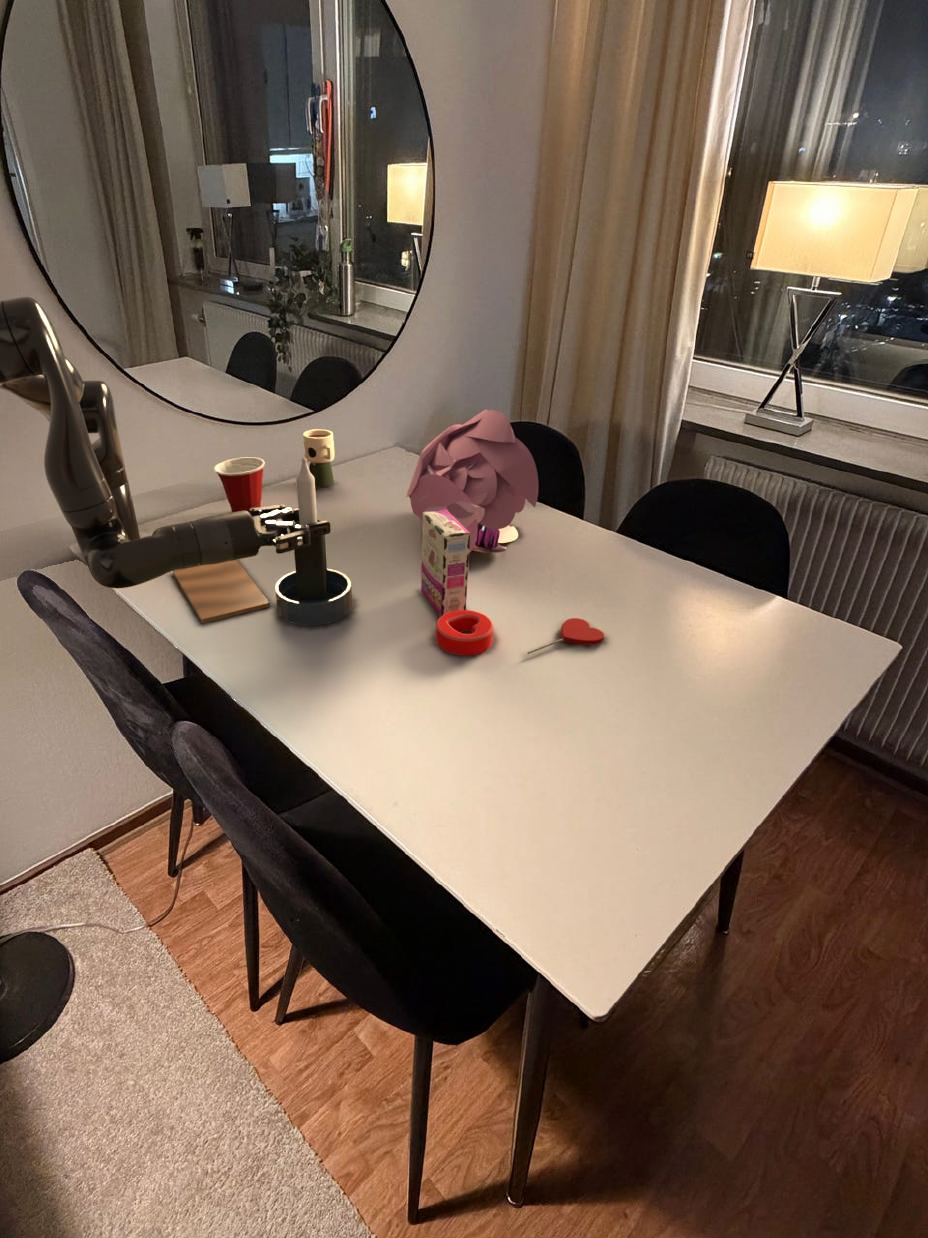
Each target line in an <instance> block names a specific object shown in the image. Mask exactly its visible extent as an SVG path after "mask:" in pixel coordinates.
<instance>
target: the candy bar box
mask: <svg viewBox="0 0 928 1238" xmlns="http://www.w3.org/2000/svg"><path fill="white" fill-rule="evenodd" d="M421 528H422V529H421V530H422V531H421V532H422V533H421V574H420V575H421V576H420V577H421V578H420V581H421V582H420V584H421V585H420V592H421V594H422V595H423V597H425V599H426V600H427V602H428V603H429V604H430V605H431V607H432V608H433V609H434V610H435V611H434V612H436V613H437V615H438V616H439V618H440V617H441V616H443V615H444V614H446V613H448V612H452V611H457V610H467V597H468V596H467V595H468V579H469V578H468V577H469V563H470V553H469V548H470V532H469V531H467V530H466V529H465V528H464V527H463V526H462V525H461V524H460V523H459V522H458V521H457V520H456V519H455V518H454V517H453V516H452V515H451V514H450V513H449V512H448V511H447V510H437V511H430V512H423V522H422V527H421Z"/></svg>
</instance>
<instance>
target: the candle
mask: <svg viewBox="0 0 928 1238" xmlns="http://www.w3.org/2000/svg"><path fill="white" fill-rule="evenodd" d="M308 465H309V464H308V461H307V459H306V458H305V457H303V458H302V459H301V467H300V470H299V473H298V474H297V476H296V479H295V480H296V492H297V494H296V495H297V505H298V508H299V521H297V522H294V524H296V525H308V524H311V523H316V522H321V520H320V519H318V514H317V499H316V495H317V494H316V487H315V479H314V476H313V475H312V474H311V473H310V471H309V466H308ZM298 531H301V530H295V532H298ZM297 542H302V541H297ZM293 554H294V568H295V571H296V581H297V594H298V598H299V599H301V600H322V599H325V598H326V597H327V589H328V579H327V569H328V565H327V564H328V563H327V545H326V535H321V536H317V537H312V538H310V546H307V547H303V548H299V549H296V550H293Z"/></svg>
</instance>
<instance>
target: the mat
mask: <svg viewBox="0 0 928 1238" xmlns="http://www.w3.org/2000/svg"><path fill="white" fill-rule="evenodd" d="M172 575H173V577H174V578H175V581H176V582H177V583H178V585H179V588H181V590H182V592H183V593H184V595H185V597H186V598H187V600H188V602H189V603H190V605H191V607H192V608H193V610H194V612H195V614H196V615H197V617H198V619H199V620H200V622H201V623H202V624H205V623H209V622H214V621H217V620H220V619H224V618H229V617H233V616H237V615H240V614H241V615H242V614H245V613H249V612H253V611H257V610H261V609H264V608H269V607H271V606H270V605H271V604H270V601H269V600H268V599H267V598H266V596H265V595H264V594H263V593H262V591H261V590H260V588H259V587H258V586H257V585H256V583H255V582H254V581H253V580H252V578H251V577H250V575H249V574H248V573H247V571H245V569H244V567H242V565H241V564H240V563H239V562H238V560H233V561H229V562H224V563H219V564H213V565H202V566H197V567H192V568H187V569H182V570H176V571H172Z"/></svg>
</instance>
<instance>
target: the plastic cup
mask: <svg viewBox="0 0 928 1238" xmlns="http://www.w3.org/2000/svg"><path fill="white" fill-rule="evenodd" d="M265 465H266V462H265V460H264V459H262V458H259V457H253V456H252V457H251V456H247V457H246V456H245V457H236V458H229V459H227V460H224V461H223V460H222V461H221V462H219V463H217V464H216V465H215V466H214V467H213V471H214V472H215V473H216V474H217V475H218V478H219V480H220V482H221V484H222V487H223V490H224V493H225V496H226V499H227V502H228V503H229V506H230V510H231V513H232V512H238V511H243V510H245V511H248V512H249V513H250V510H249V509H251V508H257V507H262V496H263V495H262V494H263V477H264V467H265Z"/></svg>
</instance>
